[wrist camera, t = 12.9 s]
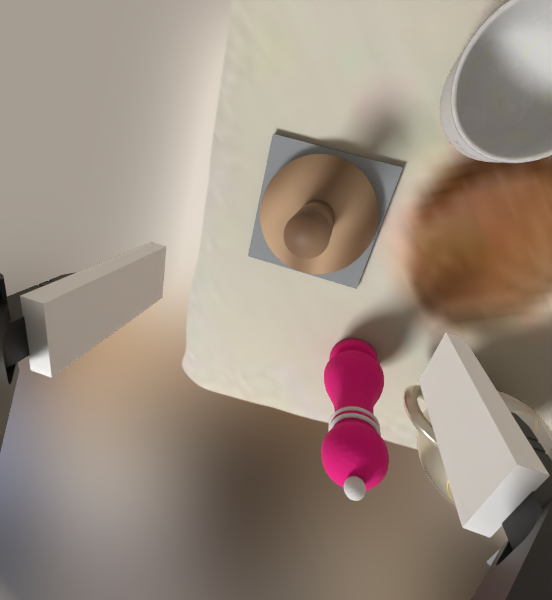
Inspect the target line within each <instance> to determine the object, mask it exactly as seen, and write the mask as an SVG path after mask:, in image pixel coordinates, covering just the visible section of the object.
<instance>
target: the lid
mask: <svg viewBox="0 0 552 600" xmlns="http://www.w3.org/2000/svg"><path fill="white" fill-rule="evenodd" d="M377 222H378V203H377V199H376V195H375V192H374V189H373V187H372V185H371V183H370V182H369V180H368V179H367V177H366V176H365V175H364V173H363V172H362V171H361V170H360V169H359V168H358V167H356V166H355V165H354V164H352V163H351V162H349V161H347V160H345V159H343V158H340V157H338V156H334V155H329V154H311V155H307V156H303V157H300V158H297V159H295V160H293V161H291V162H290V163H288V164H286V165H285V166H284V167H282V168H281V169H280V170H279V171H278V172H277V173H276V174H275V175H274V177H273V178H272V179H271V181H270V182H269V184H268V186H267V187H266V190H265V192H264V194H263V198H262V201H261V207H260V223H261V229H262V233H263V235H264V238H265V240H266V242H267V244H268V246H269V248H270V249H271V251H272V252H273V253H274V254H275V255H276V257H277V258H279V259H280V260H281V261H282V262H283V263H285V264H286V265H287V266H289V267H291V268H293V269H295V270H298V271H300V272H304V273H309V274H327V273H332V272H336V271H338V270H341V269H343V268H345V267H347V266H349V265H350V264H352V263H353V262H354V261H356V260H357V259H358V258H359V257H360V256H361V255H362V254H363V253H364V252H365V250H366V249H367V248H368V246H369V244H370V243H371V241H372V239H373V237H374V234H375V231H376V228H377Z"/></svg>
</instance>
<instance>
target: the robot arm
mask: <svg viewBox="0 0 552 600" xmlns="http://www.w3.org/2000/svg"><path fill="white" fill-rule="evenodd" d="M165 255H166V246H162V245H159V244H155V243H153V242H150V243H148V244H145V245H143V246H141V247H138V248H136V249H133V250H131V251H128V252H126V253H123V254H121V255H118V256H116V257H114V258H111V259H109V260H106V261H104V262H101V263H99V264H97V265H94V266H92V267H89V268H87V269H84V270H82V271H79V272H76V273H71V274H65V275H61V276H58V277H56V278H53V279H51V280H49V281H46V282H43V283H41V284H39V286H38V285H36V286H33V287H30V288H28V289H25V290H23V291H21V292H18V293H15V294H13V295H10V296H8V297H7V296H6V289H5V284H4V277H3V275H2V274H0V451H1V447H2V442H3V438H4V434H5V429H6V425H7V421H8V417H9V412H10V408H11V404H12V399H13V395H14V391H15V386H16V382H17V378H18V373H19V367H18V362H19V361H20V360H22V359H24V358H25V357H27V356H29V361H30V368H31V370H32V371H35V372H37V373H41V374H43V375H45V376H48V377H51V378H52V377H53V376H55V375H56V374H57V373H59V372H60V371H62V370H63V369H64V368H66V367H67V366H68V365H70V364H71V363H73V362H74V361H75V360H77V359H78V358H80V357H81V356H82V355H84V354H85V353H86V352H88V351H89V350H91V349H92V348H93V347H95V346H96V345H97V344H99V343H100V342H102V341H103V340H104V339H106V338H107V337H108V336H110V335H111V334H113V333H114V332H115V331H117V330H118V329H120V328H121V327H122V326H124V325H125V324H126V323H128V322H129V321H131V320H132V319H133V318H135V317H136V316H138V315H139V314H140V313H142V312H143V311H144V310H146V309H147V308H149V307H150V306H151V305H153V304H154V303H156V302H157V301H158V300H160V299H161V298H162V293H163V280H164V268H165ZM419 383H420V387H421V390H422V393H423V397H424V400H425V403H426V407H427V410H428V414H429V417H430V420H431V424H432V427H433V430H434V434H435V437H436V440H437V444H438V447H439V451H440V454H441V457H442V461H443V464H444V467H445V471H446V474H447V477H448V481H449V484H450V488H451V491H452V494H453V498H454V501H455V504H456V508H457V511H458V514H459V517H460V521H461V524H462V527H463V528H465V529H468V530H471V531H473V532H476V533H479V534H482V535H484V536H487V537H491V536H492V535H493V534H494V533H495V532H496V531H497V530H498V529H499V528H500V527H501V526H502V525H503V528H504V530H505V533H506V535H507V537H508V541H507V542H506V543H505V544H504V545H503V546H502V547H501V548H500V549H499V550H498V551H497V552H496V553H495V554H494V555H493V556H492V557H491V558H490V559H489V560H488V561H487V563H488V564H489V565H490V568H489V569H488V571H487V573H486V575H485V576H484V578H483V580H482V582H481V584H480V585H479V587H478V588H477V590H476V592H475V594H474V595H473V597H472V599H471V600H552V460H551V459H550V457H549V456H548V454H545V452H546V451H545V449H544V448H543V446H542V445H541V443H539V442H538V439H537V437H536V436H535V434H534V433H533V431H532V430H531V428H530V427H529V426H528V425H527V424H526V423H525V422H524V421H523V420H522V419H521V418H520V417H519V416H518V415H517V414H516V413H513V412H510V411H509V409H508V408H507V406H506V404H505V403H504V401H503V400H502V398H501V396H500V395H499V393H498V392H497V390H496V388H495V387H494V385H493V384H492V382H491V380H490V379H489V377H488V376H487V374H486V372H485V371H484V369H483V368H482V366H481V364H480V363H479V361H478V360H477V358H476V356H475V355H474V353H473V351H472V350H471V348H470V347H469V345H468V343H467V342H466V340H465V339H464V338H463V337H460V336H457V335H454V334H450V333H447V332H446V333H445V335H444V336H443V338H442V340H441V342H440V344H439V345H438V347H437V349H436V351H435V353H434V354H433V356H432V358H431V360H430V362H429V363H428V365H427V367H426V369H425V371H424V372H423V374H422V376H421V378H420V380H419Z"/></svg>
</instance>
